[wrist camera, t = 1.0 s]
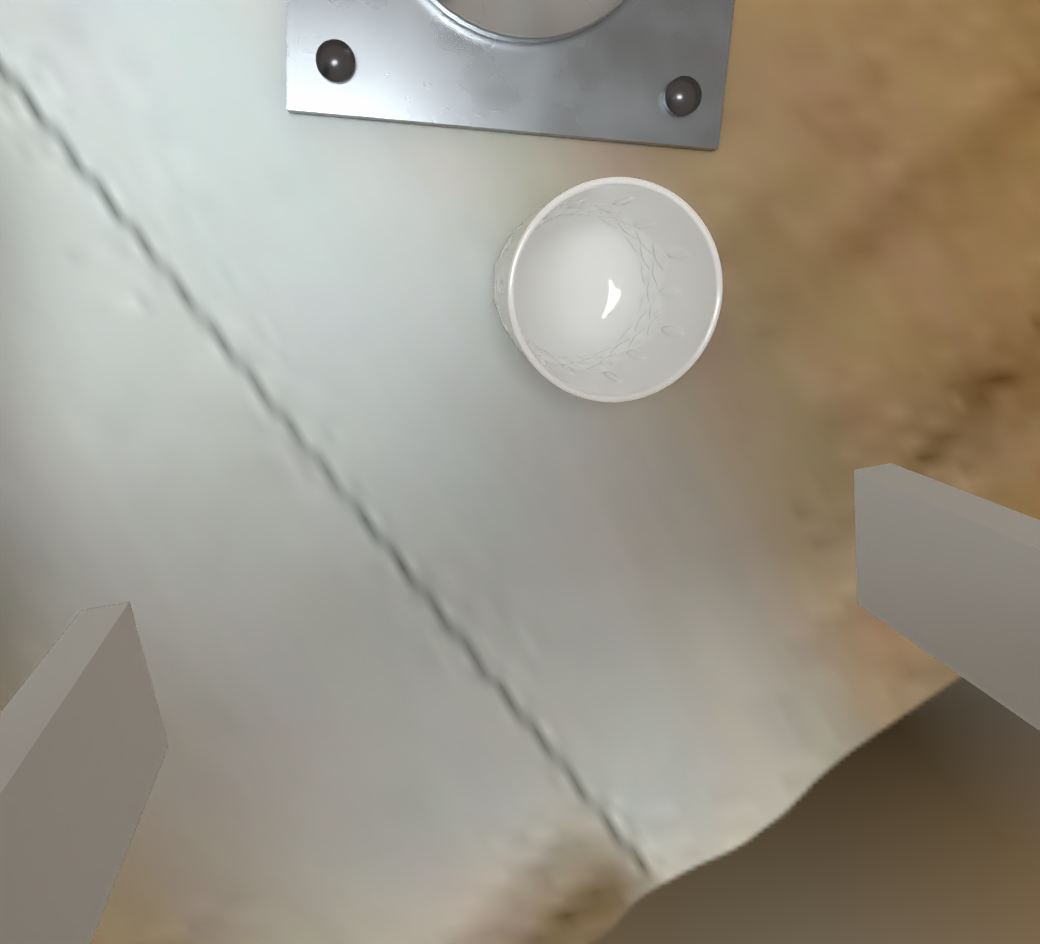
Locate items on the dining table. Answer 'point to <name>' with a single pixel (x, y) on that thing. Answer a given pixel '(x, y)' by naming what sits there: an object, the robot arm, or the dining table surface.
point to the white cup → (610, 289)
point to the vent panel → (517, 66)
